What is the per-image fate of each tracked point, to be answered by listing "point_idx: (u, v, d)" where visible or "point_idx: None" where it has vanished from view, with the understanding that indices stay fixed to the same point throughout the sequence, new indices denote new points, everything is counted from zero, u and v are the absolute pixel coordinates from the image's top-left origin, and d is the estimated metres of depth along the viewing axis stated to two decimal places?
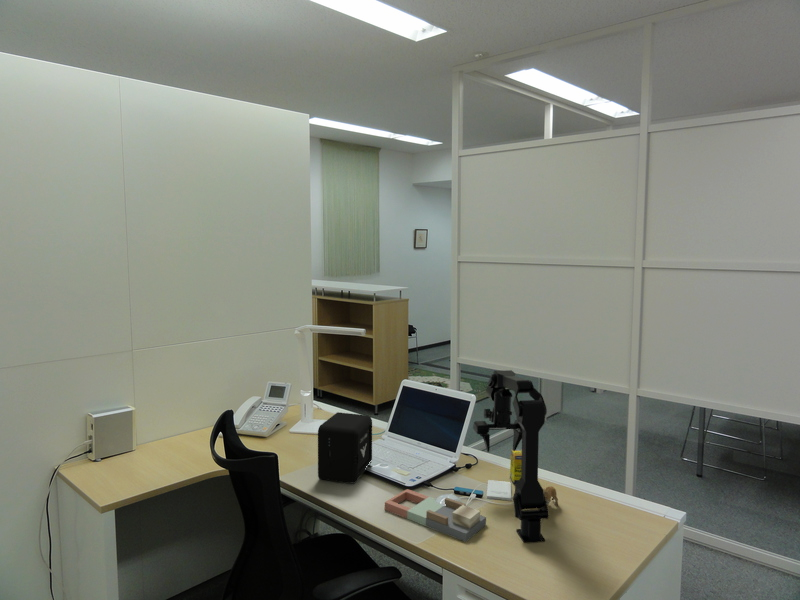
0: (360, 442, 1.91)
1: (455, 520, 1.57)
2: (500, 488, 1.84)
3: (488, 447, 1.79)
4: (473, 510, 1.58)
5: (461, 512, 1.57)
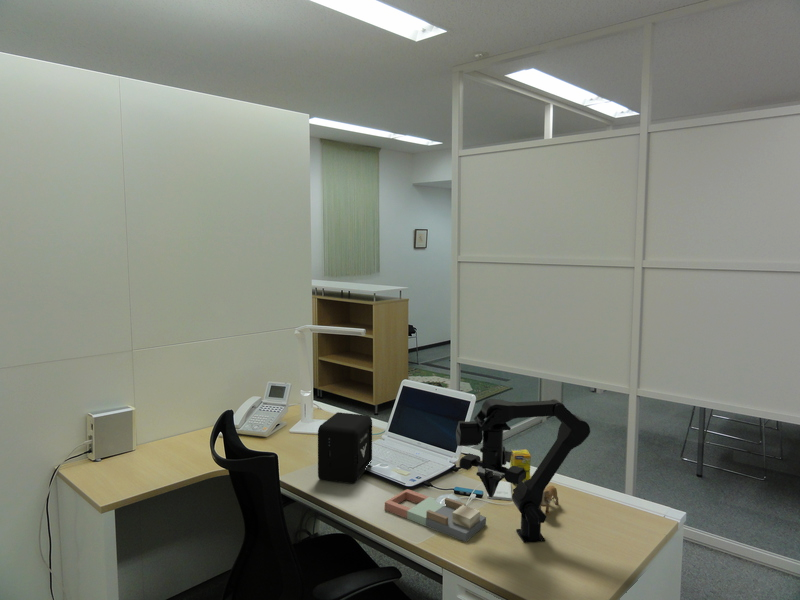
0: (360, 442, 1.91)
1: (455, 520, 1.57)
2: (500, 488, 1.84)
3: (487, 491, 1.51)
4: (473, 510, 1.58)
5: (461, 512, 1.57)
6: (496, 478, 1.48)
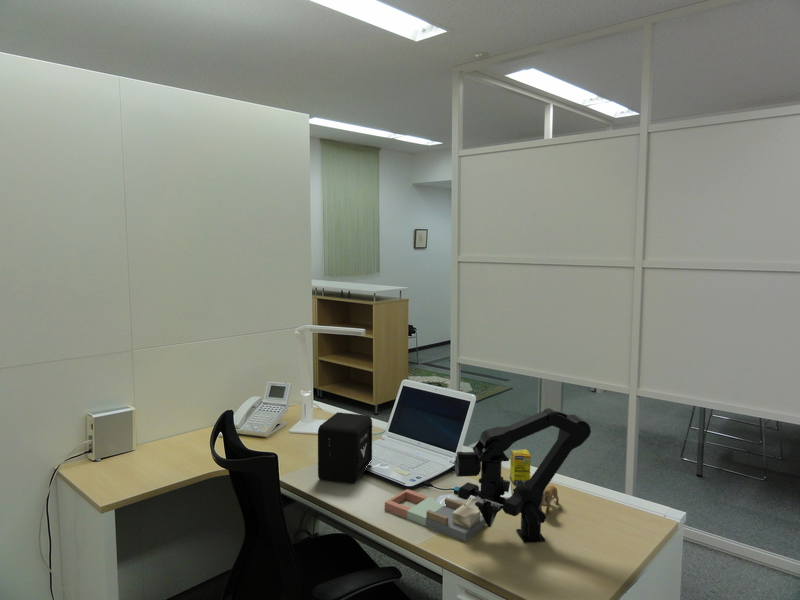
0: (360, 442, 1.91)
1: (455, 520, 1.57)
2: None
3: (486, 521, 1.52)
4: (473, 510, 1.58)
5: (461, 512, 1.57)
6: (494, 509, 1.49)
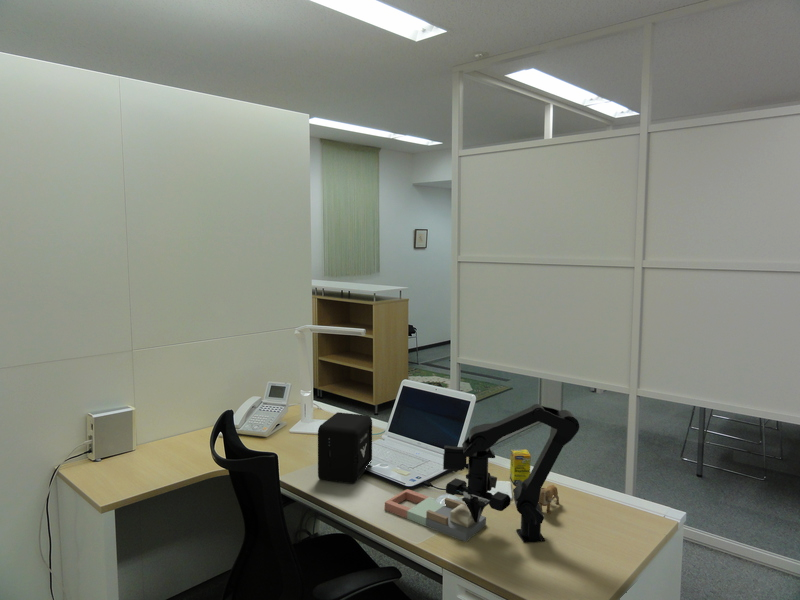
0: (360, 442, 1.91)
1: (453, 519, 1.57)
2: (500, 487, 1.84)
3: (473, 516, 1.55)
4: None
5: (459, 511, 1.58)
6: (481, 504, 1.52)
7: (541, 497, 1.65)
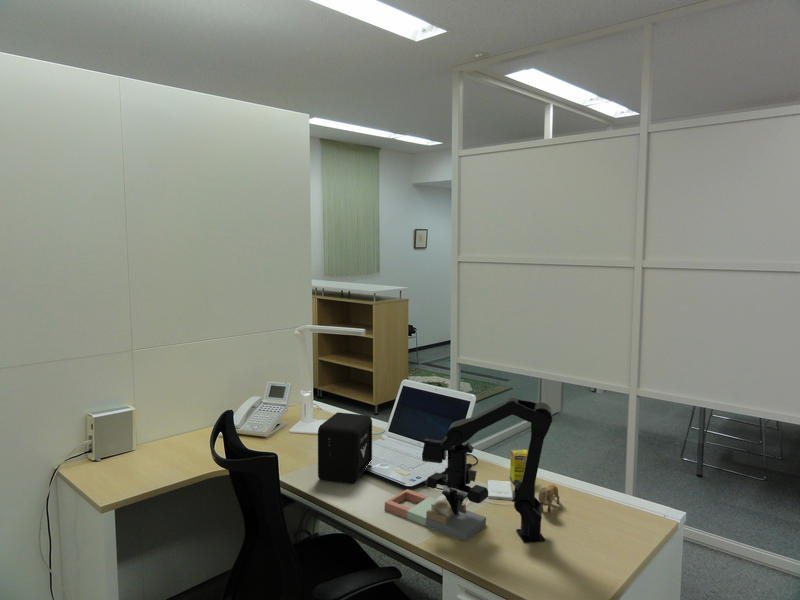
0: (360, 442, 1.91)
1: (434, 511, 1.62)
2: (500, 487, 1.84)
3: (452, 509, 1.59)
4: None
5: (440, 504, 1.62)
6: (460, 497, 1.56)
7: (542, 497, 1.66)
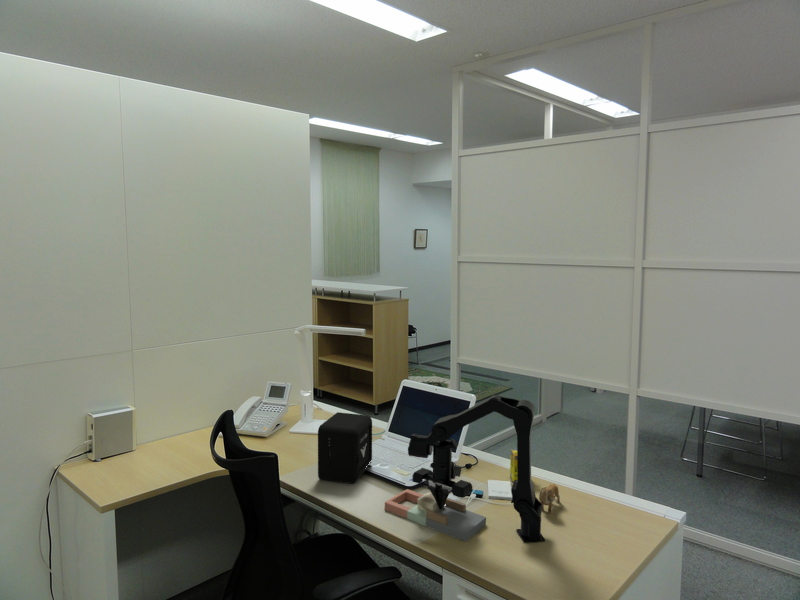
0: (360, 442, 1.91)
1: (420, 506, 1.65)
2: (500, 487, 1.84)
3: (438, 503, 1.62)
4: None
5: (426, 499, 1.65)
6: (444, 492, 1.59)
7: (543, 496, 1.66)
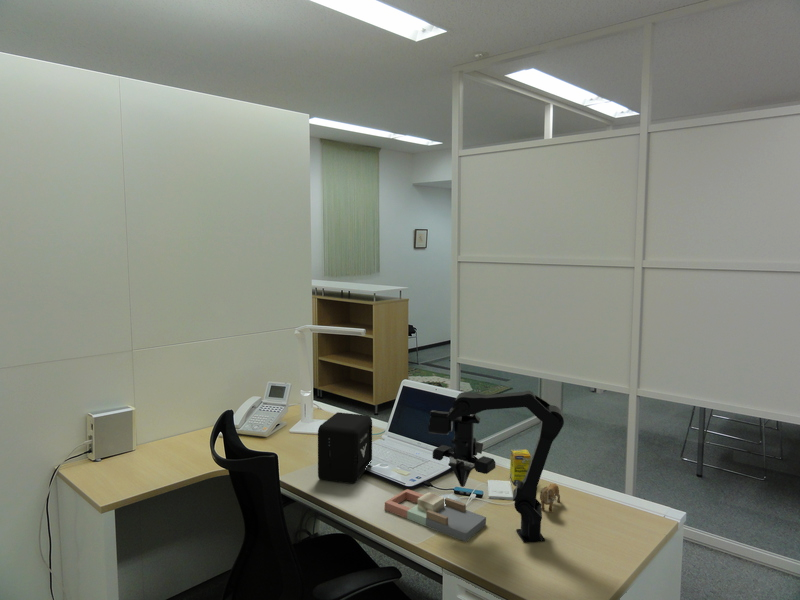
0: (360, 442, 1.91)
1: (420, 506, 1.65)
2: (500, 487, 1.84)
3: (459, 481, 1.57)
4: (437, 497, 1.67)
5: (426, 499, 1.65)
6: (467, 468, 1.54)
7: (544, 496, 1.66)
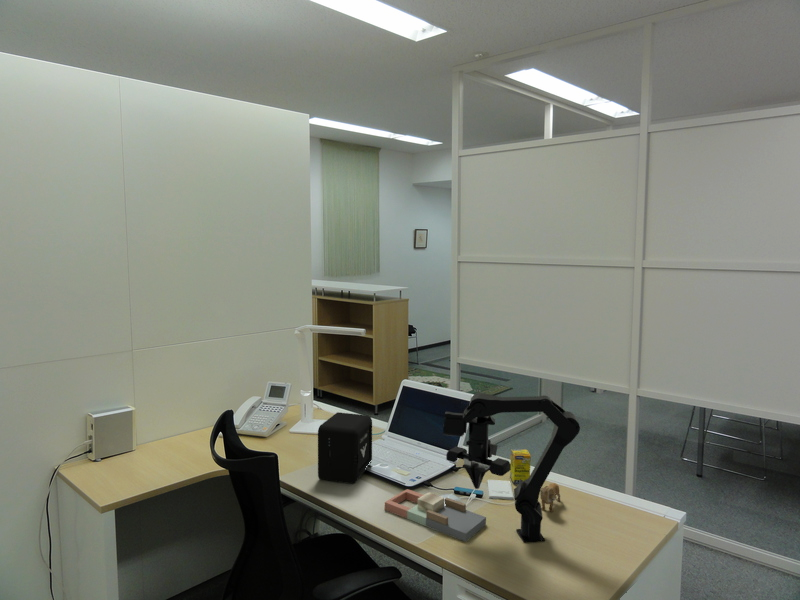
0: (360, 442, 1.91)
1: (420, 506, 1.65)
2: (501, 487, 1.84)
3: (473, 483, 1.56)
4: (437, 497, 1.67)
5: (426, 499, 1.65)
6: (481, 470, 1.53)
7: (545, 495, 1.66)
